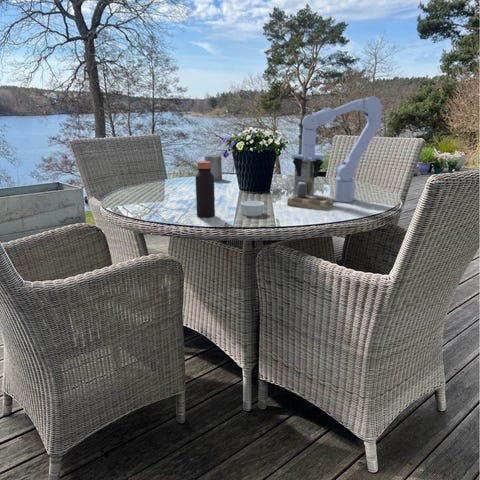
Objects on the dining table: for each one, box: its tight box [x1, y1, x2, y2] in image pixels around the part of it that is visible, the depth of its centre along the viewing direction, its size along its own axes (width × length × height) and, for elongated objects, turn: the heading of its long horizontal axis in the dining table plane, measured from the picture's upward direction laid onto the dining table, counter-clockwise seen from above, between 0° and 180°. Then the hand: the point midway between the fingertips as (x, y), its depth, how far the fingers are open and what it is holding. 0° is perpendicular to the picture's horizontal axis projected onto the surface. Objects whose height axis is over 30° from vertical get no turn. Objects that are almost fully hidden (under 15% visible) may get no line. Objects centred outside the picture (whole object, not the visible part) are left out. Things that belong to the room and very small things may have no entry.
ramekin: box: [240, 200, 265, 217], centre depth 160 cm, size 9×9×4 cm
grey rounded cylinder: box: [297, 182, 306, 199], centre depth 175 cm, size 4×4×9 cm
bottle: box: [195, 160, 216, 219], centre depth 155 cm, size 7×7×20 cm
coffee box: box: [293, 159, 316, 196], centre depth 194 cm, size 9×6×16 cm
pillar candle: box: [204, 154, 223, 182], centre depth 243 cm, size 10×10×15 cm
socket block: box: [286, 195, 334, 211], centre depth 174 cm, size 10×16×3 cm, turn 56°
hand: (307, 176), depth 182 cm, fingers open, 7 cm apart
